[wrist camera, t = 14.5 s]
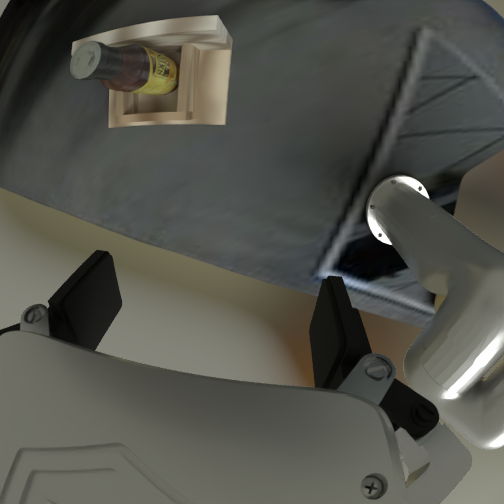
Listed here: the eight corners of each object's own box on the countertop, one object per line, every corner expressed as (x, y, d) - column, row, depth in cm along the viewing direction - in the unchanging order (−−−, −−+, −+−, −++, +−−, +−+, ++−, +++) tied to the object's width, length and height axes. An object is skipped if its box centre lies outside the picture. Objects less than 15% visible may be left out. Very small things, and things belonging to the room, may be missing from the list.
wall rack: (232, 40, 32) (217, 15, 21) (225, 124, 38) (208, 129, 28) (115, 51, 32) (73, 42, 22) (111, 127, 39) (68, 137, 28)
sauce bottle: (192, 79, 34) (126, 59, 17) (160, 103, 36) (80, 107, 19) (169, 50, 32) (96, 19, 14) (139, 75, 34) (54, 66, 16)
